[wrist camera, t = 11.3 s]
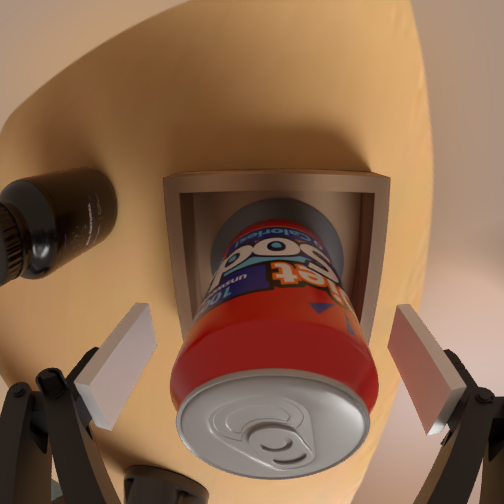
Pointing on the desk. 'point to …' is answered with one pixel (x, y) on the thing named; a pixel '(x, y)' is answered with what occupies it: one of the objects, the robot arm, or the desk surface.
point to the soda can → (274, 361)
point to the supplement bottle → (53, 221)
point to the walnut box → (277, 207)
